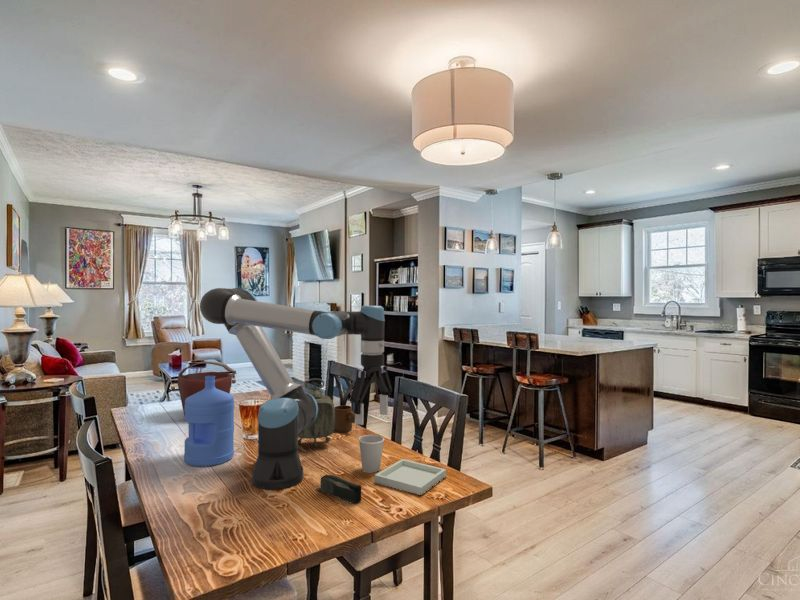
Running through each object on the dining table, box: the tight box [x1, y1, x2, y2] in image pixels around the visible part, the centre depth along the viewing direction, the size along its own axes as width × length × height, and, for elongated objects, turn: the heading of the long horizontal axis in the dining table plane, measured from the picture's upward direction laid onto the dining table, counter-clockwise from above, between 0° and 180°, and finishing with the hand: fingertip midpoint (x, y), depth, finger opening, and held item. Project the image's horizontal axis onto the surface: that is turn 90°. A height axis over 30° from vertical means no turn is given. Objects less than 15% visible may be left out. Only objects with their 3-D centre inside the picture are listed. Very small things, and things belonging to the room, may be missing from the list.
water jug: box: [183, 376, 235, 467], centre depth 152 cm, size 16×16×28 cm
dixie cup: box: [358, 434, 385, 474], centre depth 145 cm, size 8×8×10 cm
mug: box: [334, 405, 355, 433], centre depth 185 cm, size 12×8×9 cm, turn 40°
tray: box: [374, 458, 447, 496], centre depth 137 cm, size 16×16×2 cm
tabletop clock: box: [298, 377, 335, 448], centre depth 167 cm, size 14×9×25 cm, turn 108°
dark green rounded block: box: [315, 474, 362, 504], centre depth 126 cm, size 5×3×15 cm
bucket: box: [177, 361, 236, 417], centre depth 204 cm, size 24×22×25 cm
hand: (371, 419), depth 145 cm, fingers open, 13 cm apart
